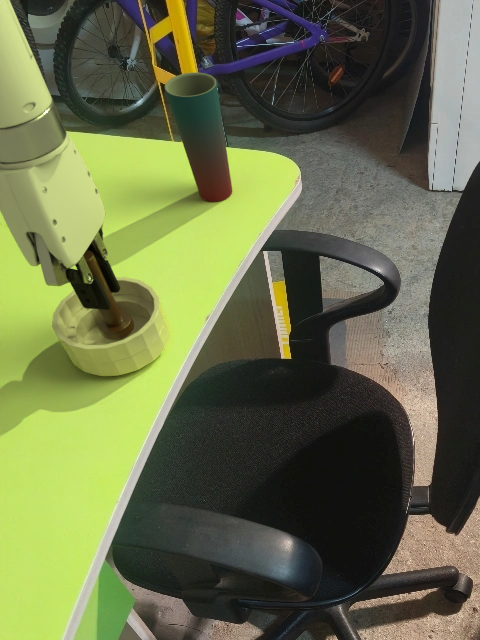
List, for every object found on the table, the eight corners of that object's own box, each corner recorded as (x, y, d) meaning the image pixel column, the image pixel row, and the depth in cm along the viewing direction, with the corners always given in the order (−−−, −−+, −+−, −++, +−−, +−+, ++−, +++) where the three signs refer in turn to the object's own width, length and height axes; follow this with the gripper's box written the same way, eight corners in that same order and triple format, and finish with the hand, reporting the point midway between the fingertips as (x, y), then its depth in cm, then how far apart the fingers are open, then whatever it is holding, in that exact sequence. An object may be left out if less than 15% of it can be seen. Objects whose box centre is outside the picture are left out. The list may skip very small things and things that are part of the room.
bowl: (54, 375, 70) (34, 344, 65) (93, 305, 76) (77, 273, 72) (152, 384, 68) (138, 353, 64) (183, 312, 75) (172, 280, 71)
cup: (185, 200, 89) (154, 91, 76) (208, 176, 92) (182, 69, 79) (224, 209, 87) (199, 100, 75) (246, 185, 91) (225, 77, 78)
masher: (95, 339, 70) (57, 266, 61) (108, 316, 72) (73, 244, 64) (127, 341, 69) (92, 268, 61) (139, 319, 71) (107, 246, 63)
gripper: (20, 88, 56) (98, 254, 72) (-68, 178, 48) (42, 345, 63) (93, 89, 56) (156, 257, 71) (17, 182, 47) (108, 350, 62)
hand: (102, 297), depth 67 cm, fingers closed on masher, 2 cm apart
